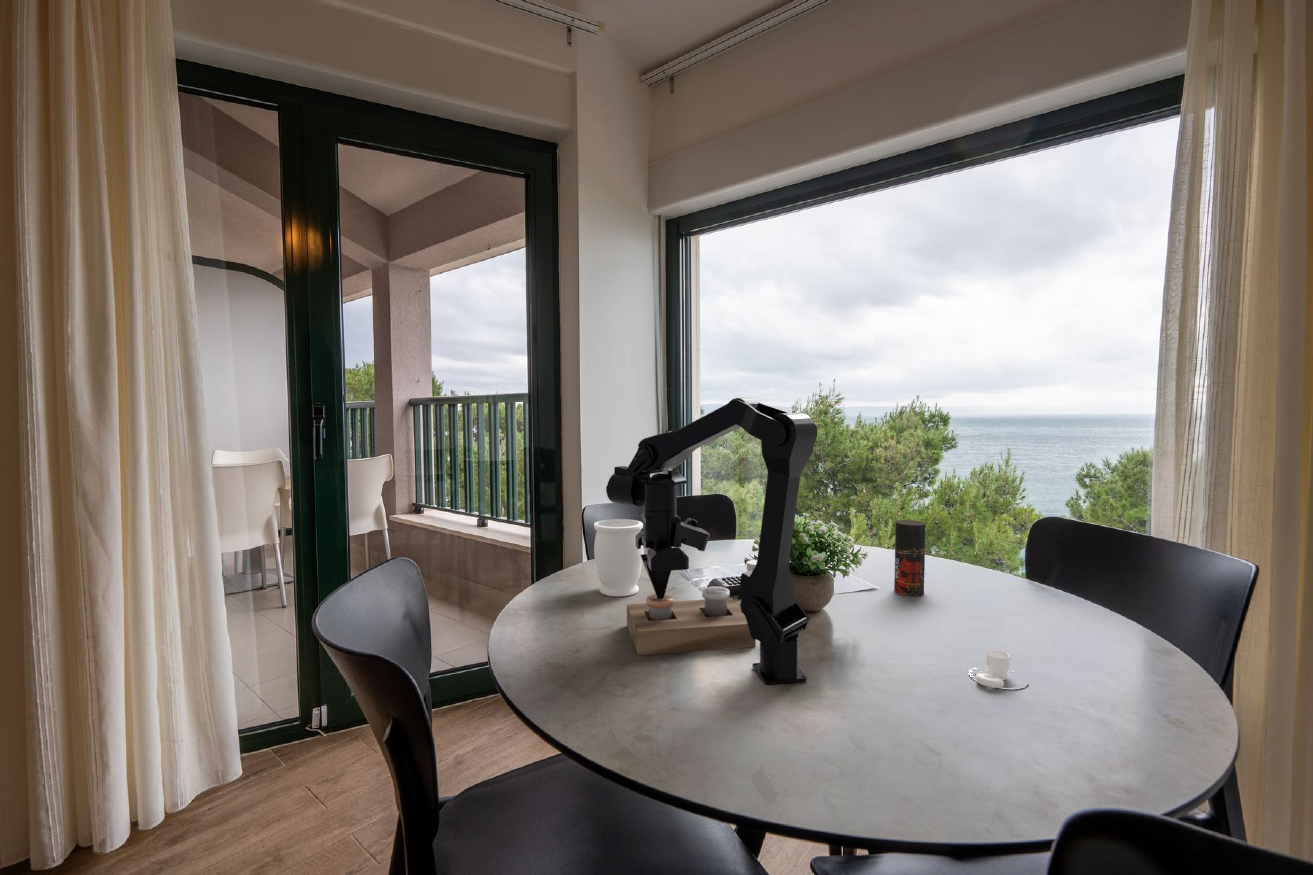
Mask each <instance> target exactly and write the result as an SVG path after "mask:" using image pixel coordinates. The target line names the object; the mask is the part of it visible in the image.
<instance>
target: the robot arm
mask: <svg viewBox="0 0 1313 875" xmlns="http://www.w3.org/2000/svg"><path fill="white" fill-rule="evenodd" d="M740 428H742V430H744V431H745V432H746V433H747V434H748V435H750V436H752V437H754V438H756V439H757V440H760V446H761V448H760V449H761V450H760V451H761V456H762V458H763V461H764V463H765V464H764V465H765V466H766V467H765V468H766V469H767V470H766V472H767V475H766V476H767V477H766V484H765V492H764V493H765V494H764V501H763V510H762V517H761V526H760V532H759V533H760V534H759V540H758V541H759V542H758V551H757V559H756V560H757V563H756V566H755V568H754V569H753V570H750V571H748V570H746V572H743V573H741V575H740V579H739V582H740V591H739V594H738V596H737V598H736V599H737V600H738V601H740V607H741V612H742V613H743V614H744V615H745V617H746V620H747V624H748V627H749V631H750V634H751V637H752V638H753V639H756V641H758V642H759V662H753V663H752V669H754V671H755V672H756V674H758V676H759V677H760V679H761V680H762V682H763V683H764V684H767V685H769V684H770V685H771V684H781V683H782V684H783V683H792V682H793V683H794V682H805V681H807V680H808V676H807V675H806V674H805V673H804V672H803V671H802V670H801V668H799V651H800V650H799V648H800V647H799V640H800V639H799V638H800V637H799V633H801V632H804V631H805V630H807V629H808V628H807V627H808V625H809V622H810V619H811V618H810V616H809V615H808V613H806V611H805V610H804V609H803V607H802V606H801V605H800V603H799V602H798V601H797V599H796V598H795V597H796V593H795V592H796V590H795V588H796V586H795V580H794V578H793V575H792V572H791V569H790V557H791V551H792V550H791V549H792V544H793V543H792V542H793V536H794V535H793V534H794V526H795V519H796V511H797V505H798V498H799V497H798V496H799V488H800V482H801V474H802V472H803V471H804V469H805V467H806V466H807V464H808V462H809V460H810V459H811V457H812V454H813V450H814V447H815V443H816V440H817V437H818V427H817V423H815V422H814V420H813V419H812V417H810V416H809V415H808V414H806V413H803V412H789V411H786V410H785V409H784V410H783V409H780V408H777V407H774V406H771V405H768V404H765V403H763V402H760V401H759V400H757V399H755V398H753V397H735V398H732V399H731V400H729V401H728V402H727V403H726V404H725V405H723V406H720V407H718V408H716V409H715V410H713V411H711V412H709V413H707V414H706V415H703V416H702V417H699V418H698V419H696V420H694V421H692V422H689V423H688V424H686V425H684V426H683V427H681V428H678V429H677V430H673V431H669V432H663V433H659V434H655V435H652V436H649V437H648V436H647V437H645V438H643V439H641V440H640V441H639V443H637V450H636V453H635V454H634V456H633V458H632V460H631V461H630V463H629V464H628V466H626V465H624V466H623V465H621V466H619V465H618V466H614V470H613V471H614V472H613V474H612V475H611V476H610V477H609V479H608V481H607V485H606V486H605V487H606V489H605V491H606V495H607V498H608V500H609V501H610V502H611V503H613V504H621V505H626V506H633V507H642V509H643V511H642V513H641V520H642V521H643V530H641V531H640V532H639V533H638V534H637V535H636V536H635V545H636V547H637V549H641V546H642V545H643V549H644V552H645V554H644V553H643V554H642V555H641V558H642V564H643V566H644V568H645V571H646V572H647V575H648V578H649V580H650V582H651V586H652V588H653V591H654V594H656V596H657V598H658V599H662V598H664V596H665V594H666V590H667V588H668V583H669V581H670V580H669V579H670V576H671V573H672V571H686V570H688V569H689V568H690V564H689V562H690V561H689V560H690V557H689V556H688V555H687V554H686V553H685V552H684V550H682V549H681V548H682V544H683V545H684V546H685V545H686V546H688V547H691V548H694V549H697V551H700V552H705V551H706V548H707V546H708V545H707V544H708V542H709V539H710V536H711V534H710V533H709V532H708V531H706V530H705V529H703V528H701V527H699V523H698V521H697V520H696V519H694V518H690V517H687V518H686V519H685V520H684V522H683V521H682V519H681V517H679V515H677V486H680V485H686V484H687V483H688V480H687V479H686V478H685V477H684V476H683V475H682V474H681V473H680V472H679V470H678V469H676V468H677V467H679V466H680V465H681V464H682V463H684V462H685V461H686V460H688V459H689V457H690V456H691V455H692V453H693V452H694V451H696V450H697V449H699V448H701V447H703V446H705V445H707V444H709V443H711V442H713V441H715V440H718V439H719V438H722V437H724V436H726V435H728V434H730V433H732V432H734V431H736V430H739V429H740ZM670 469H674V470H670ZM666 470H670V471H668V473H664V472H665V471H666Z"/></svg>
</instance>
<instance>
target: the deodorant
mask: <svg viewBox="0 0 1313 875" xmlns="http://www.w3.org/2000/svg"><path fill="white" fill-rule="evenodd" d="M926 525H927V524H926V522H924V521H922V520H921V521H920V520H915V519H913V520H912V519H899V520H896V521H895V525H894V526H895V534H894V535H895V536H894V537H895V538H894V580H893V581H894V587H893V588H894V589H893V590H894V592H895V593H896V594H897V595H901V596H908V597H921V596H923V595H925V571H926V570H925V566H926V563H925V562H926V561H925V560H926Z"/></svg>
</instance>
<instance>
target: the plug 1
mask: <svg viewBox="0 0 1313 875" xmlns="http://www.w3.org/2000/svg"><path fill="white" fill-rule="evenodd" d="M674 601H675V597H674V596H673V595H671V594H668V593H665V596H664V598H662V599H658V598H657V596H656V593H654V594H649V595H647V596H646V602H645V603H646V604H647V605H648V606H649V621H655V620H671V619H672V606H673V605H674Z"/></svg>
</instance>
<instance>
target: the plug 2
mask: <svg viewBox="0 0 1313 875" xmlns="http://www.w3.org/2000/svg"><path fill="white" fill-rule="evenodd" d="M701 591H702V592H701V594H702V598H703V599H704V600H705V614H706V615H708V616H714V617H717V616H725V615H726V614H727V599H728V598H731V597H730V594H731V593H730V592H731V591H730V589H728V588H727V587H722V586H707V587H705V588H702V590H701Z"/></svg>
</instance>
